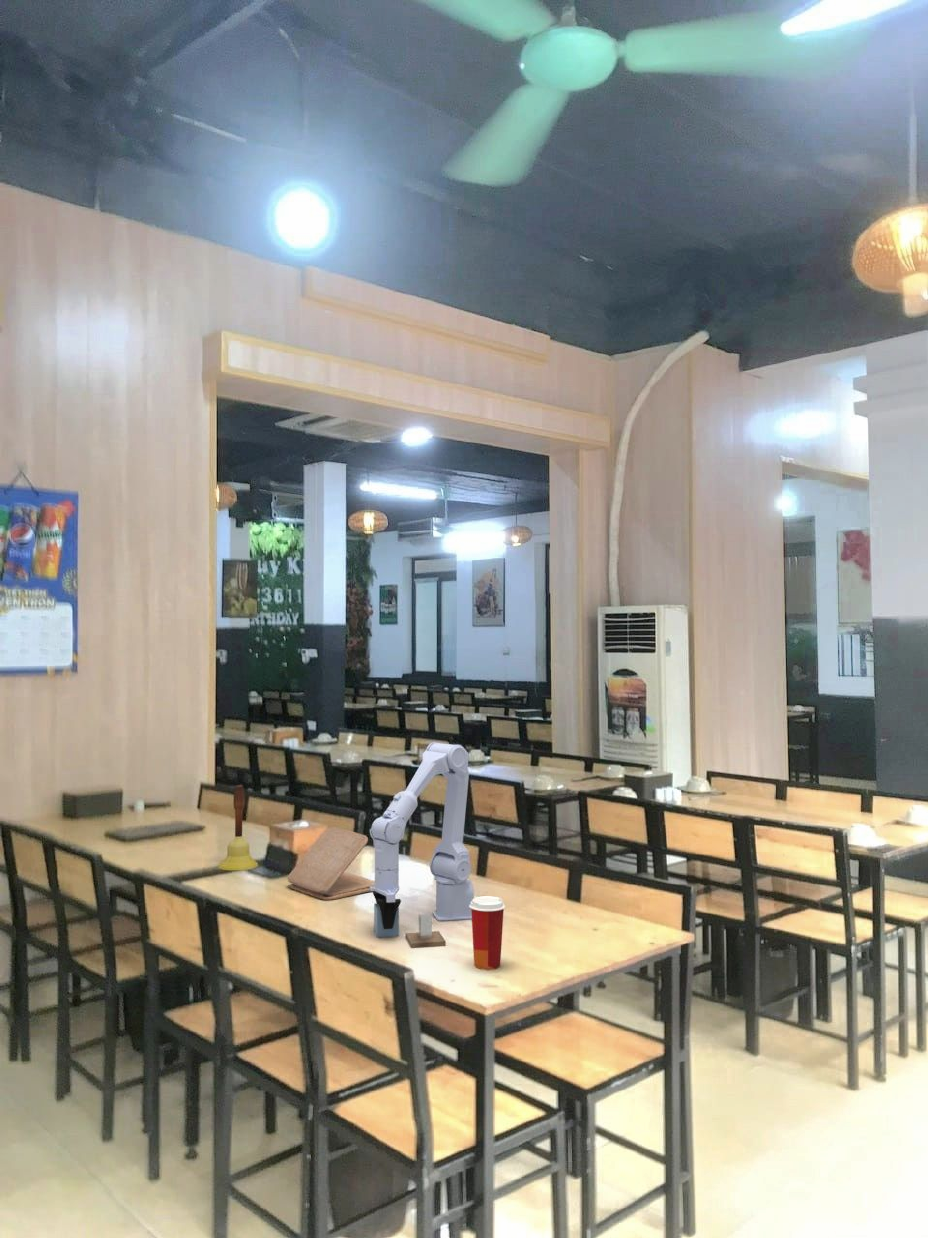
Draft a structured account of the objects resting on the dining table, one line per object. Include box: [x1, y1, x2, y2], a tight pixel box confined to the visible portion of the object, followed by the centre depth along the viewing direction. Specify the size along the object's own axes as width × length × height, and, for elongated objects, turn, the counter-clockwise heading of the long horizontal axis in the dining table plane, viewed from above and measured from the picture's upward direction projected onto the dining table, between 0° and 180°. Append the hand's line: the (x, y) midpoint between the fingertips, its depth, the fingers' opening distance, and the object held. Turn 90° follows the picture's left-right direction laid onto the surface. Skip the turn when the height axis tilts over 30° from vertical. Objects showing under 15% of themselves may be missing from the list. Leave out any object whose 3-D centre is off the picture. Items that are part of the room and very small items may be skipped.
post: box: [418, 913, 433, 939], centre depth 224 cm, size 3×3×5 cm
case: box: [287, 826, 375, 901], centre depth 272 cm, size 20×21×16 cm
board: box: [405, 930, 447, 949], centre depth 224 cm, size 8×8×1 cm
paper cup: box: [469, 895, 506, 971], centre depth 208 cm, size 8×8×14 cm
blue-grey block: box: [373, 903, 400, 938], centre depth 230 cm, size 5×5×7 cm
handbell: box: [217, 784, 259, 871], centre depth 300 cm, size 12×12×25 cm
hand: (386, 925), depth 230 cm, fingers closed on blue-grey block, 5 cm apart
